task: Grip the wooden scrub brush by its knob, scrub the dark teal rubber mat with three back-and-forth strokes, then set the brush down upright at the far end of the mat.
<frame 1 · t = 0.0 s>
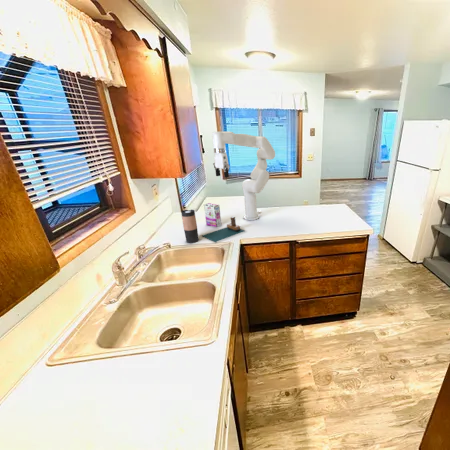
hand: (222, 176, 167), 37 cm above the worktop, tool pointing down, fingers open, 9 cm apart
brush: (233, 229, 170), point 1 cm above the worktop, touching mat
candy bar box: (214, 225, 180), on the worktop
mat: (224, 233, 164), on the worktop
travel mug: (192, 241, 153), on the worktop
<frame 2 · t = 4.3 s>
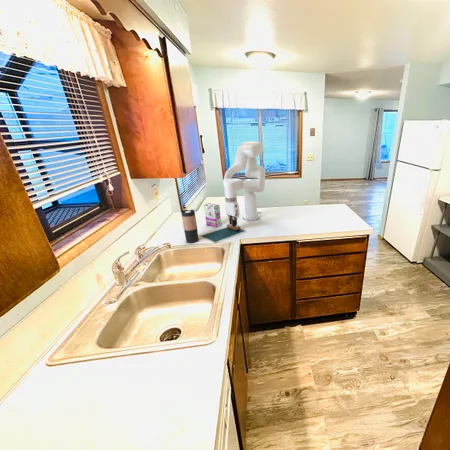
hand: (233, 224, 169), 5 cm above the worktop, tool pointing down, fingers closed on brush, 3 cm apart
brush: (233, 229, 170), point 1 cm above the worktop, touching gripper, mat
everything else where it was.
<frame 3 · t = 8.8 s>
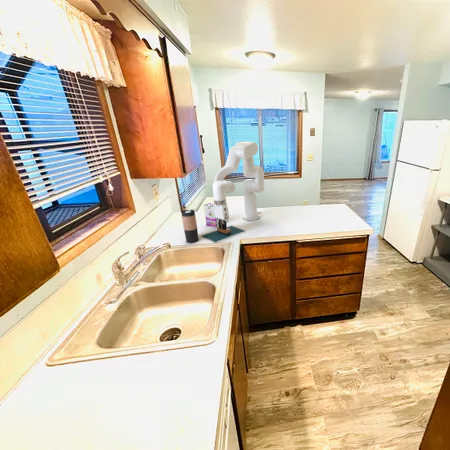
hand: (222, 228, 162), 5 cm above the worktop, tool pointing down, fingers closed on brush, 3 cm apart
brush: (224, 233, 164), point 1 cm above the worktop, touching gripper, mat
everything else where it was.
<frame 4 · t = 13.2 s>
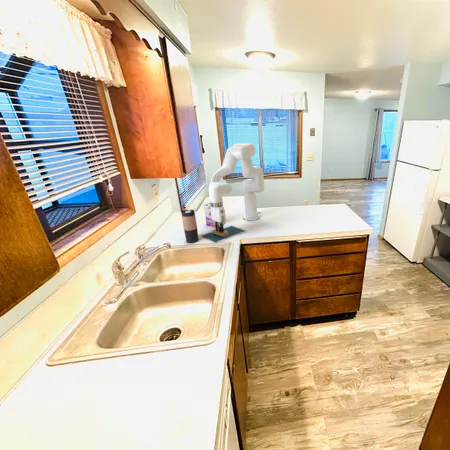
hand: (219, 230, 157), 5 cm above the worktop, tool pointing down, fingers closed on brush, 3 cm apart
brush: (220, 236, 159), point 1 cm above the worktop, touching gripper
everything else where it was.
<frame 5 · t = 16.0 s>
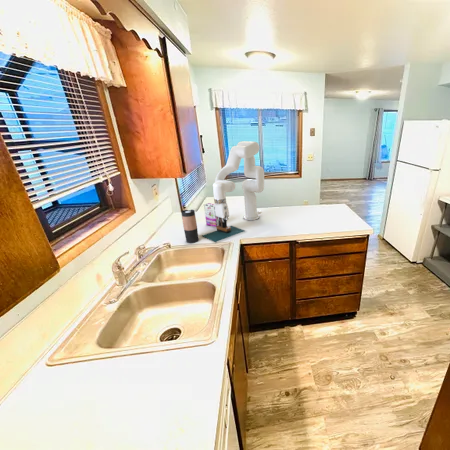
hand: (223, 226, 166), 4 cm above the worktop, tool pointing down, fingers closed on brush, 3 cm apart
brush: (223, 231, 167), point 1 cm above the worktop, touching gripper
everything else where it was.
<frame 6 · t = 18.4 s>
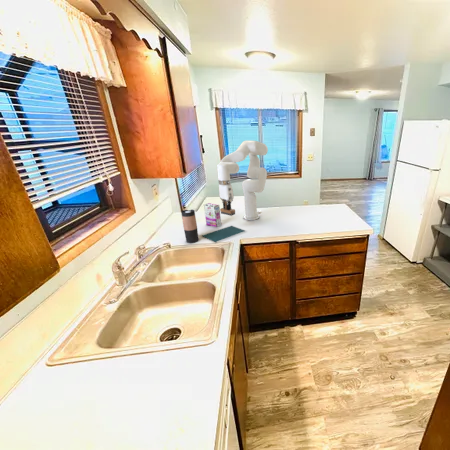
hand: (227, 208, 165), 16 cm above the worktop, tool pointing down, fingers closed on brush, 3 cm apart
brush: (228, 213, 167), point 12 cm above the worktop, touching gripper
everything else where it was.
when the fingers open (4 cm above the worktop, at t = 22.6 s): brush stays where it is, resting on mat.
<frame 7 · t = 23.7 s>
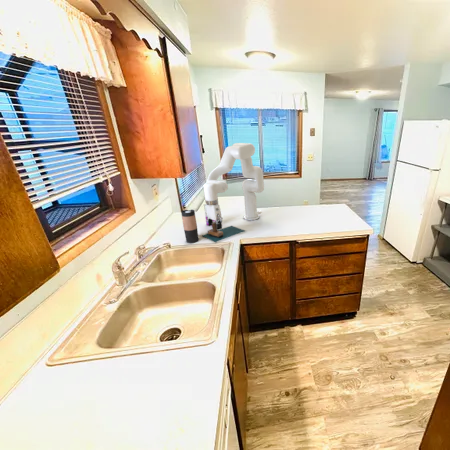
hand: (215, 227, 158), 7 cm above the worktop, tool pointing down, fingers open, 9 cm apart
brush: (215, 236, 159), point 1 cm above the worktop, touching mat
everything else where it was.
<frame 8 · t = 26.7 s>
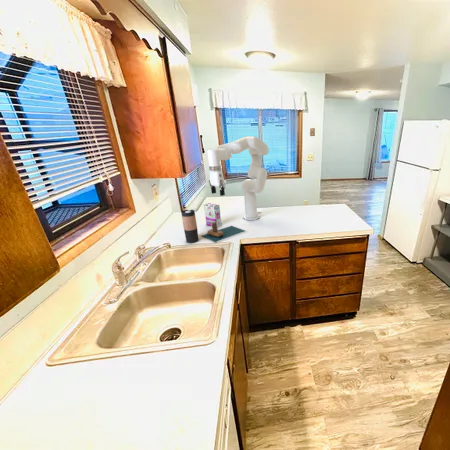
hand: (218, 194, 162), 26 cm above the worktop, tool pointing down, fingers open, 9 cm apart
nothing on the worktop moved.
at the end: brush inside the target area (0.1 cm from its centre), point 0.6 cm above the worktop; brush tilted 0°; the gripper is holding nothing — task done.
